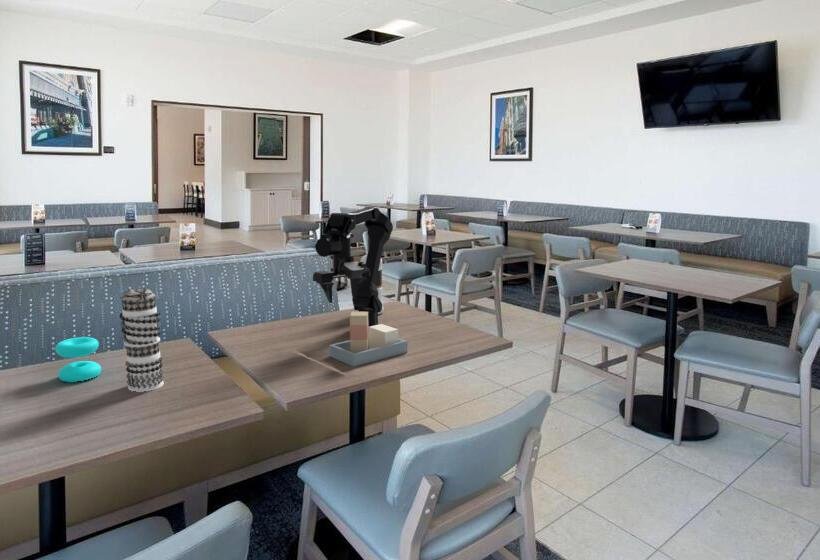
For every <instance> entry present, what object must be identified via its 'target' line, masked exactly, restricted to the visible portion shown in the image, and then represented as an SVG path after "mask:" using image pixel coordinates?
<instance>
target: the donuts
mask: <svg viewBox="0 0 820 560" xmlns="http://www.w3.org/2000/svg"><path fill="white" fill-rule="evenodd" d="M99 345H100V342H99V341H98V340H97V339H96V338H94V337H90V336H79V337H72V338H67V339H65V340H61V341H59V342H58V343H57V344H56V345H55V347H54V350H55V352H56V354H57V355H58V356H60V357H63V358H81V357H86V356H89V355H92V354H93V353H94V352H96V351H97V349H98V348H99ZM101 373H102V366H101V365H100V364H99V363H98V362H95V361H91V360H81V361H80V360H79V361H73V362H70V363H68V364H66V365H64V366H62V367H61V368H60V369H59V371H58V374H57V375H58V379H59V380H60V381H62V382H65V381H66V383H78V382H77V381H82V382H85V381H84V380H87V381H89V380H88V379H90V380H92V379H91V378H93V379H95V378H96V376H97V377H98V376H99V375H100V374H101ZM94 377H95V378H94Z"/></svg>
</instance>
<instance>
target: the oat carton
mask: <svg viewBox="0 0 820 560" xmlns="http://www.w3.org/2000/svg"><path fill="white" fill-rule="evenodd" d="M368 336H369V327H368V312H358V311H351V313H350V315H349V339H350V352H353V353H357V352H361V351H365V350H368Z"/></svg>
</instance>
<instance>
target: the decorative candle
mask: <svg viewBox="0 0 820 560" xmlns="http://www.w3.org/2000/svg"><path fill="white" fill-rule="evenodd" d="M156 296H157V295H156V294H155V293H153V291H152V290H151V289H148V288H140V287H139V288H131V289H128V290H126V291H124V293H123V295H122V296H121V297H120V299H121V302H122V303H121V304H122V305H121V306H122V309H121V313H120V314H119V316H118V317H119V318H120V320H121V322H120V327H121V332H122V334H123V335H122V340H123V345H124V346H125V348H126V349H125V350H126V357H125V358H126V361H125V366H126V368H125V370H126V372H127V374H126V375H125V377H126V379H127V381H126V384H127V385H128V387H127V390H128V389H129V390H128V391H130V390H131V391H130V392H133V391H136V392H135V393H144V391H146V392H151V390H152V391H154V390H158V389H160V388H162V387H163V386H164V384H165V383H164V369H162V368H163V363H162V361H163V358H162V356H161V350H160V345H159V344H160V342H161V337H160V335H161V333H162V332H160V331H159V330H160V329H161V325H159V324H157V323H158V322H160V321H161V318H159V316H161V312H159V311H158V310H157V305H156Z"/></svg>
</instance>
